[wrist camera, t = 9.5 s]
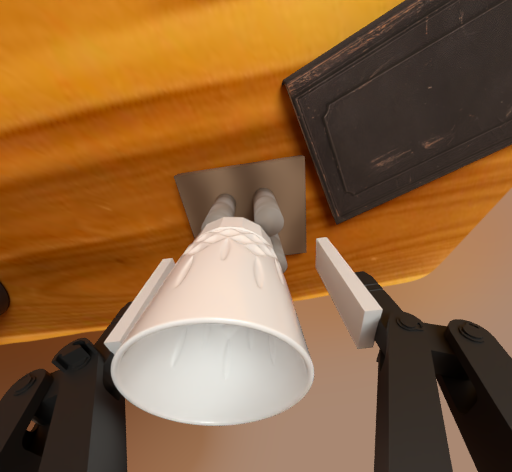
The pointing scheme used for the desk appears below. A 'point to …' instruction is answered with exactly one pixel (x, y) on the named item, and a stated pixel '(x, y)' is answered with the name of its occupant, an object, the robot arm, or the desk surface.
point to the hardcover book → (407, 100)
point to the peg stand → (252, 199)
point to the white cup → (218, 335)
